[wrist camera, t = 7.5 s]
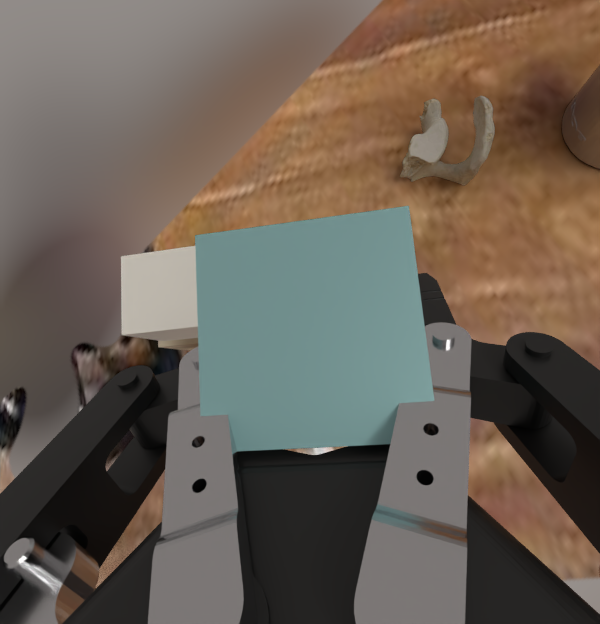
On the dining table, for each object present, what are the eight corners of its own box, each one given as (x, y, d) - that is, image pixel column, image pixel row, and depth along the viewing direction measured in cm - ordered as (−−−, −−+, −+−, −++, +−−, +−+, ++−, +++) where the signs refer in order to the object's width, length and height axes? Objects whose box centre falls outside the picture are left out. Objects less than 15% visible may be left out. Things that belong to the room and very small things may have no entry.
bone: (369, 141, 38) (436, 50, 29) (414, 134, 41) (487, 48, 32) (409, 214, 37) (492, 142, 28) (452, 201, 39) (539, 132, 31)
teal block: (382, 299, 17) (408, 205, 7) (394, 399, 16) (440, 441, 7) (286, 309, 18) (195, 235, 8) (293, 406, 17) (201, 453, 7)
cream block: (224, 267, 33) (196, 245, 28) (228, 334, 32) (199, 326, 27) (161, 275, 34) (121, 256, 28) (163, 341, 33) (121, 334, 27)
